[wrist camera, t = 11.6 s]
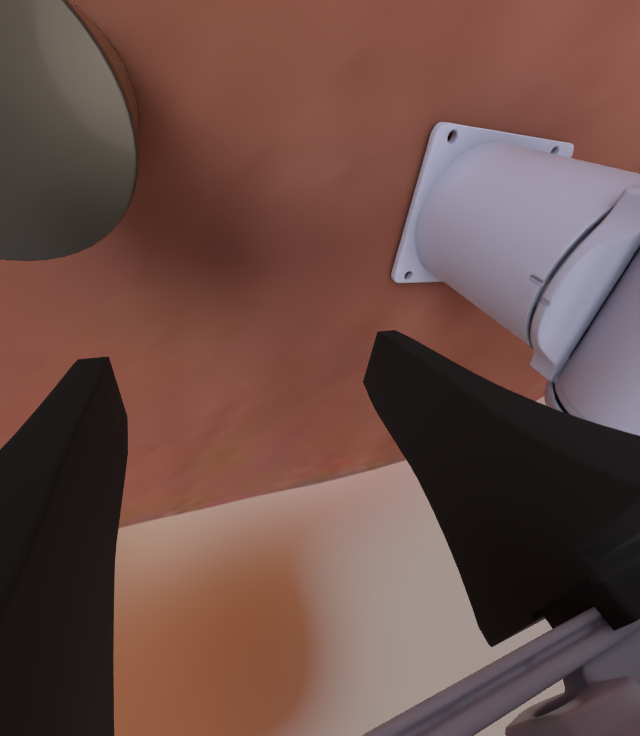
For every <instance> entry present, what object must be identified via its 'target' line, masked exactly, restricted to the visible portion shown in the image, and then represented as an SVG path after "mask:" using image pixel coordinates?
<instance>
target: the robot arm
mask: <svg viewBox="0 0 640 736" xmlns="http://www.w3.org/2000/svg"><path fill="white" fill-rule="evenodd" d="M451 131H452V137H451V139H450V140H449V141H448V140H447V139H448V135H449V133H450V132H451ZM551 151H552V152H551ZM573 151H574V146H573V144H571V143H567V142H561V141H555V140H549V139H543V138H537V137H531V136H525V135H520V134H514V133H508V132H502V131H496V130H490V129H484V128H478V127H472V126H466V125H460V124H454V123H448V122H439V123H438V124H436V125H435V127H434V128H433V130H432V132H431V135H430V138H429V142H428V145H427V149H426V152H425V156H424V160H423V163H422V167H421V170H420V174H419V177H418V181H417V184H416V188H415V191H414V195H413V198H412V202H411V206H410V209H409V213H408V216H407V220H406V223H405V227H404V230H403V234H402V237H401V241H400V244H399V248H398V251H397V255H396V259H395V262H394V266H393V269H392V273H391V278H392V280H394V281H395V282H396V283H419V282H445V283H446V284H447V285H449V286H450V287H451V288H453V289H454V290H455V291H457V292H458V293H459V294H461V295H462V296H463V297H465V298H466V299H467V300H469V301H470V302H471V303H473V304H474V305H475V306H477V307H478V308H479V309H481V310H482V311H483V312H485V313H486V314H487V315H488V316H490V317H491V318H492V319H494V320H495V321H496V322H498V323H499V324H500V325H502V326H503V327H504V328H506V329H507V330H508V331H510V332H511V333H512V334H514V335H515V336H516V337H518V338H519V339H520V340H522V341H523V342H524V343H526V344H527V345H528V346H530V347H531V348H532V349H533V350H534V354H533V357H532V360H531V362H530V366H531V367H532V368H533V369H535V370H536V371H537V372H538V373H540V374H541V375H542V376H543V377H544V378H546V379H547V380H548V382H547V384H546V388H545V392H544V395H545V403H546V406H545V405H543V404H540V403H538V402H535V401H533V400H531V399H528V398H526V397H524V396H521V395H519V394H517V393H514V392H512V391H510V390H507V389H505V388H503V387H501V386H499V385H497V384H495V383H493V382H491V381H489V380H487V379H485V378H483V377H481V376H479V375H477V374H475V373H473V372H471V371H469V370H467V369H466V368H464V367H462V366H460V365H458V364H456V363H455V362H453V361H451V360H449V359H447V358H446V357H444V356H442V355H440V354H439V353H437V352H435V351H433V350H432V349H430V348H428V347H426V346H424V345H423V344H421V343H419V342H417V341H415V340H414V339H412V338H410V337H408V336H406V335H404V334H402V333H400V332H397V331H395V330H392V331H381V332H377V336H376V339H375V343H374V346H373V349H372V353H371V356H370V360H369V363H368V367H367V370H366V374H365V377H364V381H363V383H364V385H365V388H366V390H367V392H368V395H369V397H370V399H371V401H372V404H373V406H374V408H375V410H376V412H377V413H378V415H379V417H380V418H381V420H382V421H383V423H384V425H385V426H386V428H387V430H388V431H389V433H390V434H391V436H392V438H393V439H394V441H395V442H396V444H397V445H398V447H399V449H400V450H401V452H402V453H403V455H404V457H405V458H406V460H407V461H408V463H409V464H410V466H411V468H412V469H413V471H414V473H415V475H416V477H417V478H418V480H419V482H420V484H421V486H422V488H423V491H424V493H425V495H426V497H427V498H428V500H429V503H430V505H431V507H432V509H433V511H434V513H435V516H436V518H437V520H438V522H439V525H440V527H441V529H442V531H443V533H444V536H445V538H446V540H447V543H448V545H449V548H450V550H451V552H452V555H453V558H454V560H455V562H456V565H457V567H458V570H459V572H460V575H461V578H462V580H463V583H464V586H465V589H466V592H467V594H468V597H469V600H470V603H471V605H472V608H473V611H474V614H475V617H476V620H477V623H478V626H479V628H480V630H481V631H482V634H483V635H484V637H485V639H486V641H487V642H488V644H489V645H490V646H491V647H493V646H495V645H497V644H498V643H500V642H502V641H504V640H506V639H508V638H510V637H512V636H513V635H515V634H517V633H519V632H521V631H523V630H524V629H527V628H528V627H530V626H532V625H534V624H536V623H538V622H539V621H541V620H543V619H545V618H546V620H547V621H548V622H549V624H550V625H551V627H552V628H553V629H552V630H550V631H548V632H547V633H545V634H543V635H541V636H540V637H538V638H536V639H534V640H532V641H530V642H528V643H527V644H525V645H523V646H521V647H519V648H518V649H516V650H514V651H512V652H511V653H509V654H507V655H505V656H503V657H502V658H500V659H498V660H496V661H495V662H493V663H491V664H489V665H487V666H485V667H484V668H482V669H480V670H478V671H476V672H475V673H473V674H471V675H469V676H468V677H466V678H464V679H462V680H460V681H459V682H457V683H455V684H453V685H451V686H450V687H448V688H446V689H444V690H442V691H441V692H439V693H437V694H435V695H434V696H432V697H430V698H428V699H426V700H424V701H423V702H421V703H419V704H417V705H415V706H414V707H412V708H410V709H408V710H406V711H405V712H403V713H401V714H399V715H397V716H396V717H394V718H392V719H390V720H389V721H387V722H385V723H383V724H382V725H380V726H378V727H376V728H374V729H372V730H371V731H369V732H367V733H365V734H363V735H362V736H474V735H475V734H477V733H478V732H480V731H481V730H483V729H485V728H486V727H488V726H489V725H491V724H492V723H494V722H495V721H497V720H499V719H500V718H502V717H503V716H505V715H506V714H508V713H509V712H511V711H513V710H514V709H516V708H517V707H519V706H521V705H522V704H524V703H525V702H527V701H528V700H530V699H531V698H533V697H535V696H536V695H538V694H539V693H541V692H542V691H544V690H546V689H547V688H549V687H550V686H552V685H553V684H555V683H556V682H558V681H560V680H561V679H563V681H564V685H565V692H564V693H562V694H559V695H557V696H554V697H552V698H549V699H547V700H544V701H542V702H539V703H537V704H535V705H533V706H531V707H529V708H528V709H526V710H524V711H523V712H522V713H521V714H519V715H518V716H517V717H516V718H515V719H514V720H513V721H512V722H511V723H510V724H509V725H508V726H507V727H506V731H505V735H506V736H640V174H638V173H634V172H630V171H625V170H621V169H617V168H612V167H608V166H604V165H599V164H595V163H591V162H586V161H582V160H578V159H573V158H571V156H572V154H573ZM407 272H409V273H408V275H407V276H405V274H406V273H407ZM127 455H128V427H127V414H126V411H125V408H124V405H123V401H122V398H121V395H120V392H119V388H118V385H117V382H116V379H115V376H114V372H113V369H112V366H111V363H110V359H109V357H100V358H89V359H79V360H77V361H76V362H75V363H74V364H73V366H72V367H71V368H70V369H69V370H68V372H67V373H66V374H65V375H64V377H63V378H62V379H61V380H60V382H59V383H58V384H57V385H56V387H55V388H54V389H53V390H52V392H51V393H50V394H49V395H48V396H47V398H46V399H45V400H44V401H43V402H42V404H41V405H40V406H39V407H38V408H37V409H36V411H35V412H34V413H33V414H32V415H31V416H30V418H29V419H28V420H27V421H26V422H25V423H24V424H23V426H22V427H21V428H20V429H19V430H18V431H17V432H16V434H15V435H14V436H13V437H12V438H11V439H10V440H9V441H8V442H7V443H6V444H5V445H4V446H3V447H2V448H1V450H0V736H114V701H113V700H114V691H113V690H114V689H113V627H114V624H113V623H114V572H115V554H116V541H117V534H118V527H119V519H120V511H121V504H122V496H123V488H124V480H125V472H126V464H127Z"/></svg>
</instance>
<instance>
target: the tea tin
mask: <svg viewBox="0 0 640 736" xmlns="http://www.w3.org/2000/svg"><path fill="white" fill-rule="evenodd" d="M137 133H138V107H137V102H136V97H135V93H134V90H133V86H132V83H131V80H130V78H129V76H128V74H127V71H126V69H125V67H124V65H123V63H122V61H121V60H120V58H119V56H118V54H117V53H116V51H115V50H114V48H113V47H112V45H111V44H110V42H109V41H108V40H107V38H106V37H105V36H104V35H103V33H102V32H101V31H100V30H99V29H98V28H97V27H96V25H95V24H94V23H93V22H92V21H91V20H90V19H89V18H88V17H87V16H86V15H85V14H83V13H82V12H81V11H80V10H79V9H78V8H76V7H75V6H74V5H73V4H71V3H70V2H69V1H68V0H0V259H4V260H18V261H36V260H49V259H55V258H60V257H65V256H68V255H71V254H75V253H78V252H80V251H82V250H84V249H86V248H89V247H91V246H93V245H94V244H96V243H97V242H99V241H100V240H102V239H103V238H104V237H106V236H107V235H108V234H109V233H110V232H111V231H112V230H113V229H114V228H115V227H116V225H117V224H118V223H119V222H120V220H121V219H122V218H123V216H124V214H125V212H126V210H127V208H128V207H129V205H130V202H131V199H132V196H133V193H134V190H135V185H136V179H137V173H138V158H139V149H138V139H137Z"/></svg>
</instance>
